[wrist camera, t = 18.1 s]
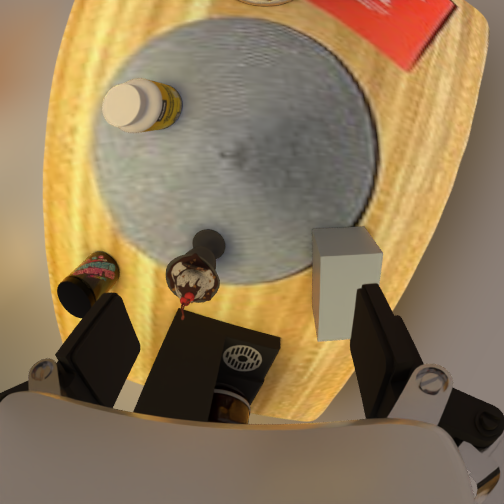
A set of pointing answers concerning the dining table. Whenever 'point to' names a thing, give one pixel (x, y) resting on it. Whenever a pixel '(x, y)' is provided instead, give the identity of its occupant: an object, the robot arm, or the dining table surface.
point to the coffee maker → (207, 371)
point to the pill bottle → (141, 106)
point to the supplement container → (87, 283)
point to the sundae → (196, 269)
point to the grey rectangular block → (341, 277)
